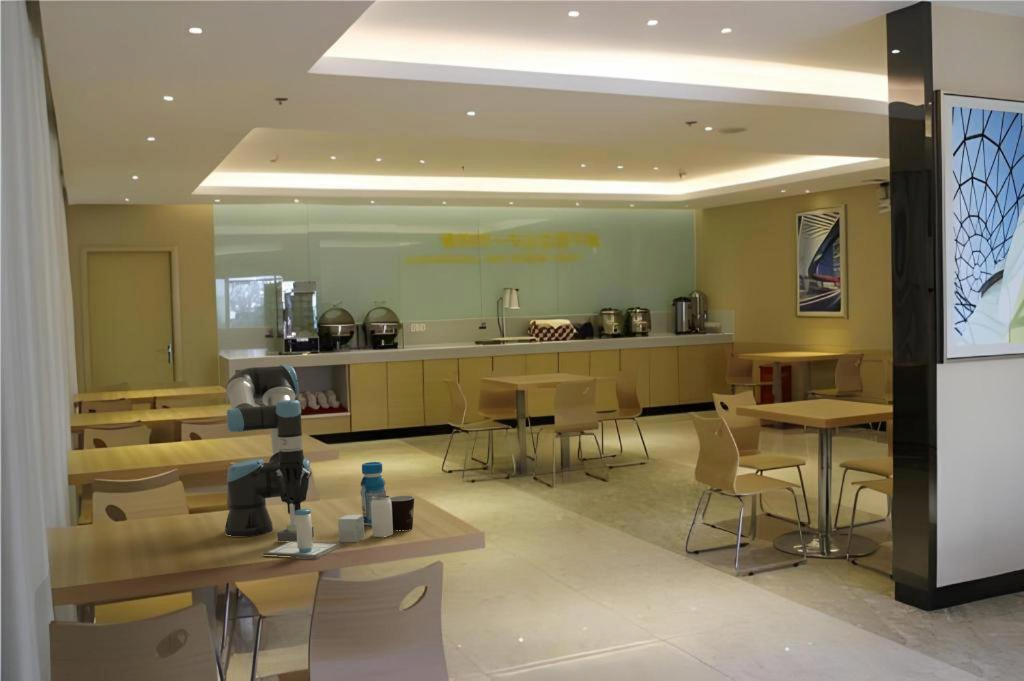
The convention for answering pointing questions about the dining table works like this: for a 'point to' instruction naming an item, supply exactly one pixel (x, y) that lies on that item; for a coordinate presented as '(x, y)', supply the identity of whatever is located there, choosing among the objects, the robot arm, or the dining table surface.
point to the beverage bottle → (371, 487)
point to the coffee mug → (402, 512)
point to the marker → (304, 530)
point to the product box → (351, 528)
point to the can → (381, 516)
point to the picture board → (292, 551)
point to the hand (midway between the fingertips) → (295, 524)
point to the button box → (288, 535)
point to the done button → (291, 528)
